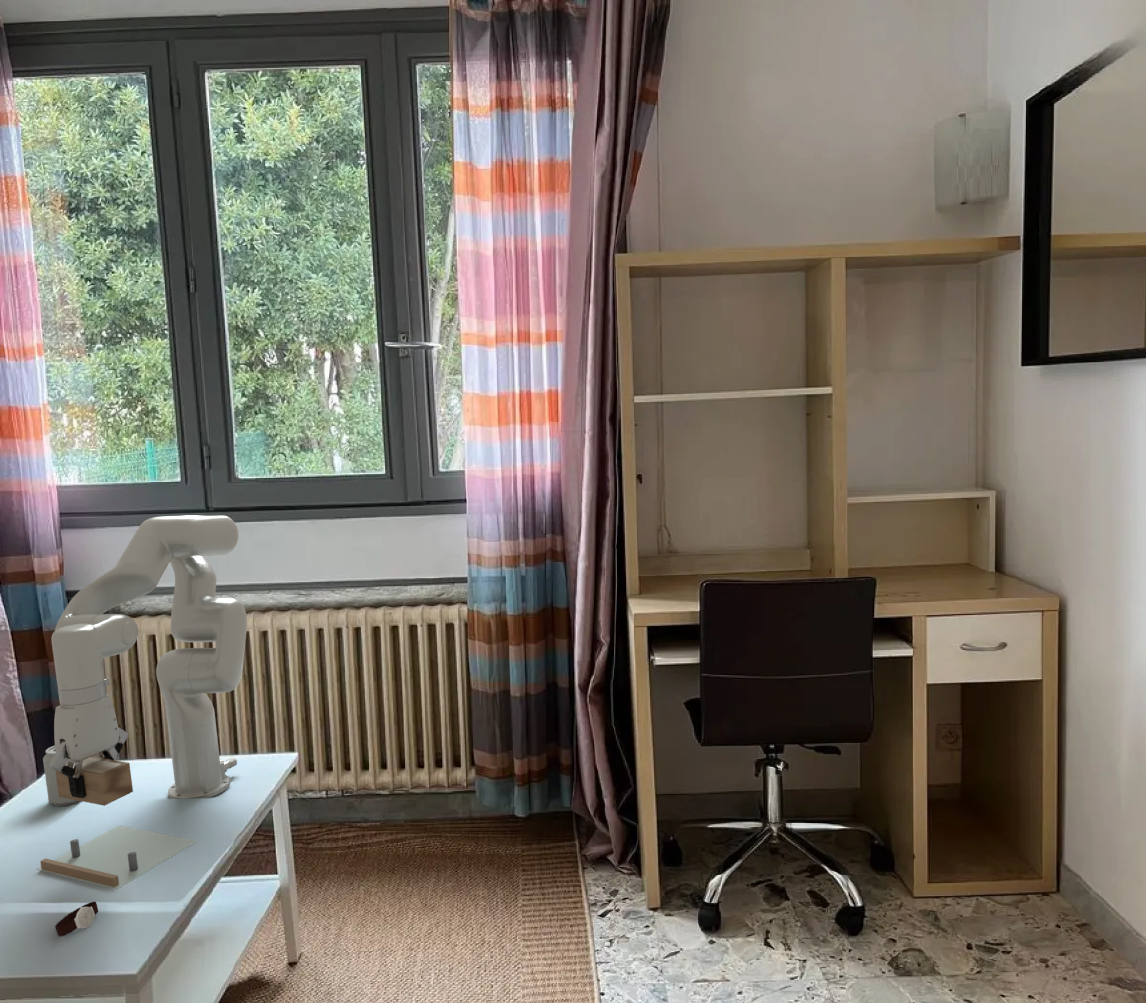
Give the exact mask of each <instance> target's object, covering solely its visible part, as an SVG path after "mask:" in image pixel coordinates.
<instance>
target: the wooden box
mask: <svg viewBox="0 0 1146 1003" xmlns="http://www.w3.org/2000/svg"><path fill="white" fill-rule="evenodd" d="M64 765H66V763H65V764H64ZM74 765H75V763H74ZM73 769H74V766H73ZM55 772H56V780H57V787H58V794H59V797H63V798H68V799H73V800H78V802H84V803H89V804H95V805H100V806H107V805H109V804H111V803H112V802H115V801H117V800H119V799H121V798H124V797H125V796H127V795H129V794H131V793H133V792H134V789H133V781H132V780H133V779H132V774H131V764H130V762H126V761H120V760H116V761H115V760H109V759H104V758H103V757H96V756H91V757H89V758H87V759H84V760H83V764H82V769H81V774H80V776H83V777H84V783H85V790H86V797H84V798H78V797H73V796H72V795H71V793H70V788H69V780H68V777H67V776H65V775H64V774H62V773H60V772H58V771H57V770H55Z"/></svg>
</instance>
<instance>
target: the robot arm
mask: <svg viewBox="0 0 1146 1003" xmlns="http://www.w3.org/2000/svg"><path fill="white" fill-rule="evenodd" d="M238 540H239V528H238V526H237V525H236V522H235V521H234V520H233V519H232V518H231V517H229V516H227V515H190V514H189V515H169V516H163V515H162V516H155V517H150V518H147V519H146V520H144V521H143V522H142V523H141V524H140V525H139V527H138V528H137V529H136V531H135V533H134V535H132V538H131V540H130V541H129V543H128V545H127V547H125V549H124V552H122V554H121V556H120V558H119V559H118V561H117V563H116V565H115V566H114V567H112V569H110V570H108V571H107V572H104V573H103V574H102V575H100V576H99V577H97V578H95V580H92V582H90V583H88V584H87V585H85V586H84V587H83V588H81V589H80V590H79V591H78V592H77V593H76V594H75V595H74V596H73V597H72V598H71V599H70V601H69V603H68V604H67V605H66V607H65V608H64V609H63V612H62V613H61V616H60V618H59V619H58V621H57V623H56V626H55V629H54V632H52V635H51V647H52V654H53V656H52V657H53V662H54V669H55V676H56V677H55V678H56V683H57V684H56V686H57V692H58V698H59V699H58V700H59V705H58V706H56V707H55V711H54V712H55V713H54V723H53V724H54V725H53V726H54V727H53V728H54V729H53V732H54V733H53V734H54V746H55V750H56V753H55V754H54V756H53V758H52V760H51V762H50V763H49V767H51V768H53V769H55V770H57V771H58V772H60V773H62V774H64V775H65V776H67V777H68V780H69V788H70V793H71V795H72V796H73V797H78V798H84V797H86V790H85V783H84V777H83V776H80V774H81V769H82V764H83V760H84V759H87V758H89V757H95V756H96V755H99V754H101V756H102V758H103V759H109V760H115V761H119V759H120V752H121V751H122V749H123V747H124V743H125V742H126V740H127V738H128V736H129V733H128V732H127V731H125V730H124V729H122V728H120V727H119V725H118V724H119V723H118V720H117V714H116V711H115V707H114V705H113V702H112V698H111V696H110V694H108V693H107V688H106V687H108V686H109V685H110V683H111V681H110V680H109V678H105V672H104V665H103V664H104V663H103V659H105V658H109V657H113V656H117V655H121V654H123V653H125V652H128V651H129V650H130V649H131V648H133V646H134V645H135V643H136V641H137V640H138V636H139V627H138V624H137V622H136V621H135V620H134V619H133V618H132V617H130V616H128V615H126V614H122V613H106V612H108V611H109V610H111V609H113V608H115V607H117V606H119V605H122V604H126V603H128V602H131V601H134V600H136V599H140V598H141V597H144V596H145V595H147V594H149V593H151V592H152V591H154V590H155V588H156V587H157V586H158V585H159V582H160V580H161V578H162V577H163V574H164V573H165V571H166V569H167V567H168V566H169V563H170V565H171V567H172V569H173V573H174V588H173V589H174V590H173V599H172V607H171V615H170V625H169V626H170V627H169V628H170V634H171V636H172V637H173V638H174V639H175V640H176V641H177V642H178V641H179V642H183V643H215V647H190V648H189V647H188V648H186V647H184V648H176V649H172V650H170V651H168V652H166V653H163V655H162V656H160V658H159V659H158V662H157V664H156V667H155V668H156V671H155V674H156V679H157V682H158V686H159V690H160V691H161V694H162V697H163V702H164V706H165V712H166V720H167V727H168V728H167V729H168V737H169V746H170V753H171V761H172V763H171V764H172V770H173V778H174V783H173V784H172V785H171V786H170V787H169V788H168V790H167V794H168V798H169V799H171V800H172V799H173V800H175V799H177V800H178V799H180V800H181V799H185V800H186V799H209V798H212V797H214V796H218V795H219V794H222V793H223V792H224V791H226V790H227V789H228V788H229V787H230V785H231V779H230V776H228V775H226V773H227V771H228V770H230V769H232V768H234V767H236V766H237V764H238V761H237V759H236V757H231V758H229V759H227V760H226V761H224V760H223V759H220V750H219V741H218V732H217V724H216V723H217V722H216V716H215V715H216V714H215V708H214V706H213V703H212V701H211V699H210V697H209V696H208V695H207V694H216V693H217V694H222V693H224V694H225V693H229V692H232V691H233V690H235V689H237V687H238V686H239V683H240V681H241V680H242V674H243V670H244V669H243V667H244V658H245V650H246V649H245V648H246V640H247V629H248V619H247V612H246V609H245V606H244V605H243V604H242V602H241V601H239V600H238V599H236V598H232V597H216V590H217V589H216V588H217V574H216V572H215V570H214V568H213V566H212V565H211V563H210V562H209V561H208V560H207V558H206V557H209V556H210V557H211V556H219V555H220V556H222V555H227V554H229V553H231V552H232V551H233V550H234V549H235V547H236V545H237V544H238ZM63 759H67V761H66V765H64V764H63V763H62V761H63ZM74 763H75V765H74ZM73 766H74V769H73Z"/></svg>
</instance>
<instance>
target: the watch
mask: <svg viewBox="0 0 1146 1003" xmlns="http://www.w3.org/2000/svg"><path fill="white" fill-rule="evenodd" d="M98 913H99V908H98V904H97V902H96V901H91V902H89V903H86V904H84V905H80V907H78V908H76V909H74V910H72V911H71V912H70V913H68V914H67V915H65V916H64V917H63V918H62V919H60V920H59V921H58V922H57V923H56V924H55V925H54V929H55V932H56V933H57V936H58V937H63V936H66V935H68V934H70V933H73V932H74V931H76V930H78V929H86V928H88V927H89V928H90V926H92V924H93V922H94V920H95V916H96V915H97V914H98Z"/></svg>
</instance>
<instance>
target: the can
mask: <svg viewBox="0 0 1146 1003" xmlns="http://www.w3.org/2000/svg"><path fill="white" fill-rule="evenodd" d="M55 753H56V750H55V745H53V746H50V747H48V748H47V749H45V755H44V756H43V758H42V761H43V770H44V776H45V777H44V778H45V784H46V791H47V799H48V802H49V803H50V804H53V805H54V806H58V807H62V806H69V805H73V804H75V803H79V801H78V800H73V799H68V798H63V797H59V794H58V787H57V780H56V772H55V769H53V768H51V767H49V763H50V762H51V760H52V758H53V756H54V754H55ZM66 761H67V759H63V761H62V763H63V764H65V763H66Z"/></svg>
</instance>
